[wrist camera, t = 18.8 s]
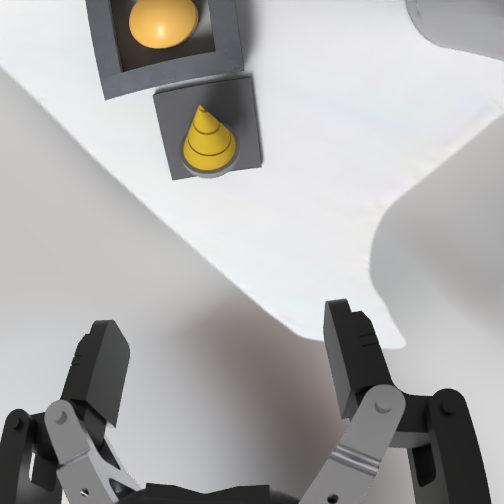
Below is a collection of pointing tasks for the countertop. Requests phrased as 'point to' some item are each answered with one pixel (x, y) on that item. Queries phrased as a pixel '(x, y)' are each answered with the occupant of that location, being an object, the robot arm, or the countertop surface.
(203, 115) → the ridged yellow cone
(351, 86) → the countertop surface
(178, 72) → the grey open box
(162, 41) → the button
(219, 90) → the rest mat
